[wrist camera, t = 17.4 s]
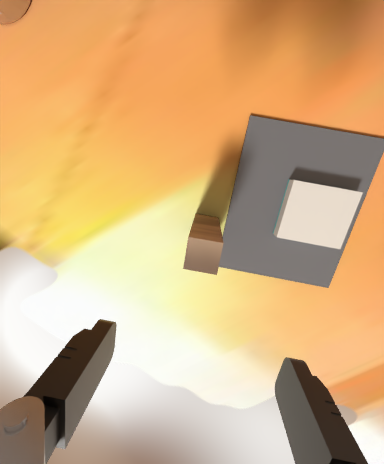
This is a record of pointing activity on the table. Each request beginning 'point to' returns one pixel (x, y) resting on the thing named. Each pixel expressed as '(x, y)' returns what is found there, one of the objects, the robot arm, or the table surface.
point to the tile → (316, 213)
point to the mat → (273, 188)
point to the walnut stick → (204, 245)
